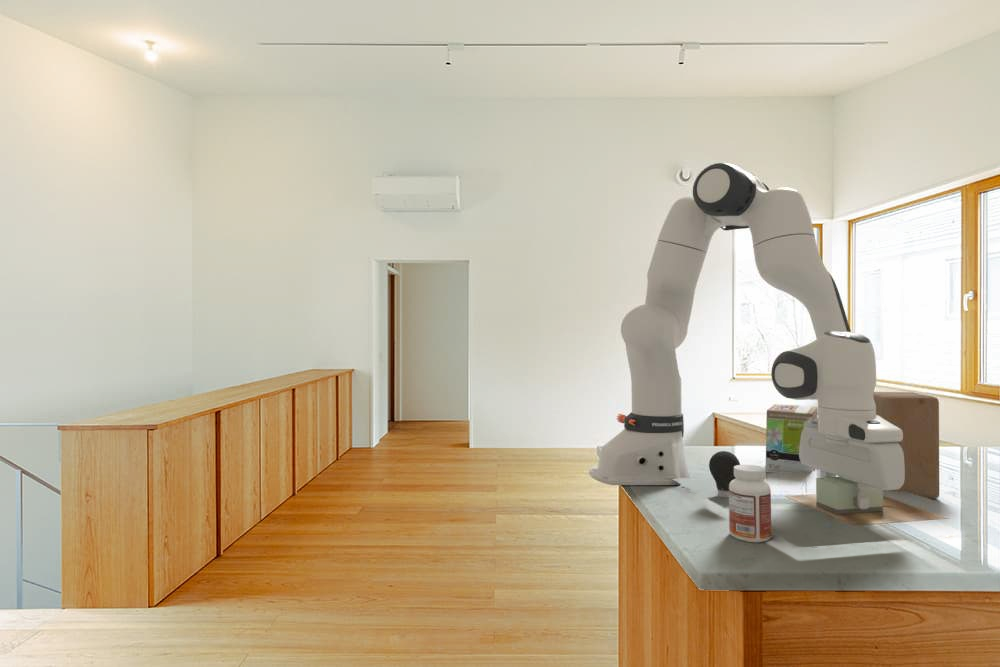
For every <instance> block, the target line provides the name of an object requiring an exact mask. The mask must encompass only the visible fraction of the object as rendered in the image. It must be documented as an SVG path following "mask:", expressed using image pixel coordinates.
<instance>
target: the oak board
mask: <svg viewBox="0 0 1000 667" xmlns="http://www.w3.org/2000/svg"><path fill="white" fill-rule="evenodd" d="M785 497H786V498H788V499H791V500H793V501H795V502H798V503H800V504H803V505H805V506H808V507H810V508H813V509H814V510H817V511H820V512H822V513H824V514H827V515H829V516H832V517H833V518H837V519H838V520H841V521H843V522H845V523H848V524H851V525H852V526H867V525H881V524H892V523H893V524H895V523H907V522H919V521H933V520H947V519H950V518H949V517H947V516H945V515H944V516H943V515H941V514H938V513H935V512H932V511H929V510H927V509H923V508H921V507H920V508H919V507H917V506H914V505H911V504H909V503H905V502H902V501H899V500H897V499H896V500H895V499H894V498H890V497H887V496H884V495H883V511H876V512H863V513H850V514H835V513H833V512H830V511H828V510H825V509H823V508H821V507H818V506H816V493H812V494H810V493H809V494H796V495H795V494H794V495H793V494H792V495H785Z"/></svg>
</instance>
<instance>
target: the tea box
mask: <svg viewBox="0 0 1000 667" xmlns="http://www.w3.org/2000/svg"><path fill="white" fill-rule="evenodd" d="M810 417H816V418H818V406H812V405H811V406H810V405H797V404H777V403H776V404H773V405H772V406H771V407H769V408H768V409H767V410H766V421H765V422H766V423H765V424H766V428H765V429H766V430H765V431H766V432H765V433H766V434H765V437H766V438H765V440H766V441H765V473H769V474H783V473H784V474H785V473H800V472H801V473H803V472H810V473H811V472H815V470H816V468H813V467H810V466H806V465H803V464H802V463H801V461H800V458H799V448H800V439H801V434H802V431H803V429H804V422H805V421H806V420H807V419H809V418H810ZM808 422H809V421H808Z"/></svg>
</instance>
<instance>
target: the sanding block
mask: <svg viewBox="0 0 1000 667" xmlns="http://www.w3.org/2000/svg"><path fill="white" fill-rule="evenodd" d="M815 481H816V482H815V484H816V486H815V488H816V492H815V494H816V506H818V507H821V508H823V509H825V510H828V511H830V512H833V513H835V514H850V513H863V512H876V511H883V496H884V490H880V489H877V488H875V491H874V492H873V494H872V495H871V497H870V498H869V507H868V508H867V509H860V508H858V507H855V506H854V505H853V502H854V501H853V496H858V494H859V492H860V490H861V489H859V488H858V482H856V481H853V480H850V479H846V478H843V477H840V476H836V477H824V478H821V477H815Z"/></svg>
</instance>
